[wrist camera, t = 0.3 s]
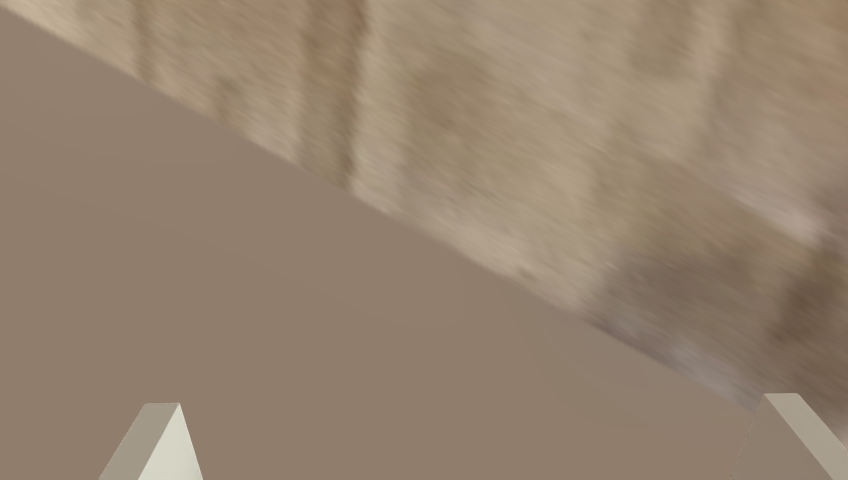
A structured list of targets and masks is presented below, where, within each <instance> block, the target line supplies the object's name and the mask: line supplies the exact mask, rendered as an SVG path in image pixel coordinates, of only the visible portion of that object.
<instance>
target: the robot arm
mask: <svg viewBox="0 0 848 480" xmlns="http://www.w3.org/2000/svg"><path fill="white" fill-rule="evenodd" d="M731 477H732V478H733V480H848V450H847V449H846V447H845V446H844V445H843V444H842V443H841V442H840V441H839V440H838V438H837V437H836V436H835V435H834V434H833V433H832V432H831V431H830V429H829V428H828V427H827V426H826V425H825V424H824V423H823V422H822V420H821V419H820V418H819V417H818V416H817V415H816V414H815V413H814V411H813V410H812V409H811V408H810V407H809V406H808V405H807V404H806V402H805V401H804V400H803V399H802V398H801V397H800V396H799V394H798V393H786V394H763V397H762V399H761V402H760V404H759V407H758V409H757V412H756V414H755V417H754V419H753V422H752V425H751V427H750V430H749V432H748V435H747V437H746V440H745V442H744V445H743V447H742V450H741V452H740V455H739V457H738V460H737V462H736V465H735V468H734V470H733V472H732V475H731ZM98 480H203V478H202V475H201V472H200V469H199V465H198V462H197V459H196V455H195V452H194V449H193V445H192V443H191V439H190V436H189V432H188V429H187V426H186V423H185V420H184V416H183V413H182V410H181V406H180V403H148V404H147V403H145V404H144V406H143V408H142V409H141V411H140V412H139V414H138V416H137V417H136V419H135V421H134V422H133V424H132V425H131V427H130V429H129V430H128V432H127V434H126V435H125V437H124V439H123V440H122V442H121V444H120V445H119V447H118V448H117V450H116V451H115V453H114V455H113V456H112V458H111V460H110V461H109V463H108V465H107V466H106V468H105V469H104V471H103V473H102V474H101V476H100V477H99V479H98Z"/></svg>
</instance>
